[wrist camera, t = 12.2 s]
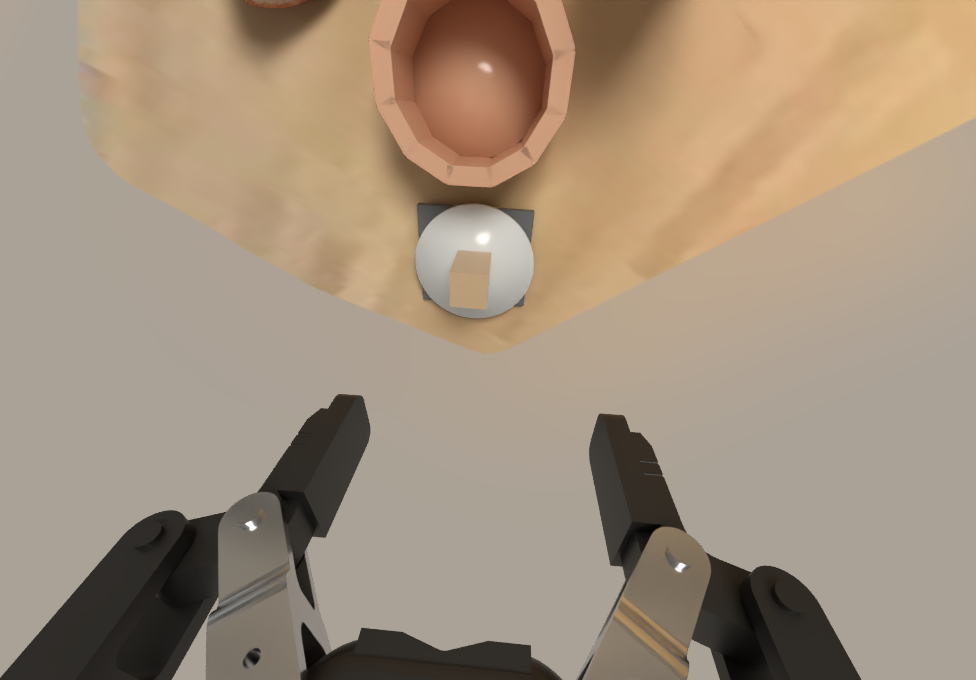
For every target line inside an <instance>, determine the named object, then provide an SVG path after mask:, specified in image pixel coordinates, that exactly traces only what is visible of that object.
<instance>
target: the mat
mask: <svg viewBox="0 0 976 680" xmlns="http://www.w3.org/2000/svg"><path fill="white" fill-rule="evenodd" d="M453 206H456V205H440V204H424V203H418V204H417V211H418V226H419V239H420V237H421V235H422V233H423V231H424V230H425V228H426V227H427V225H428V224H429V223H430V222H431V221H432V220H433V219H434V218H435V217H436V216H437V215H438V214H440V213H441V212H443V211H444V210H446V209H448V208H451V207H453ZM498 209H500V210H502V211H504V212H505V213H507V214H509V215H510V216H511V217H512V218H514V219H515V220H516V221H517V222H518V223H519V225H520V226H521V227H522V228H523V230H524V231H525V233H526V235H527V237H528V239H529V241H530V244H531V236H532V228H533V219H534V210H522V209H505V208H498ZM524 296H525V294H524ZM524 296H523V297H522V298H521V299H520V301H519V302H518V303H517V304H515V305H519V306H523V305H524ZM423 299H430V300H432V299H431V298H430V297H429V295H428V294H427V293H426V291H425V290H424V288H423Z"/></svg>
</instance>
